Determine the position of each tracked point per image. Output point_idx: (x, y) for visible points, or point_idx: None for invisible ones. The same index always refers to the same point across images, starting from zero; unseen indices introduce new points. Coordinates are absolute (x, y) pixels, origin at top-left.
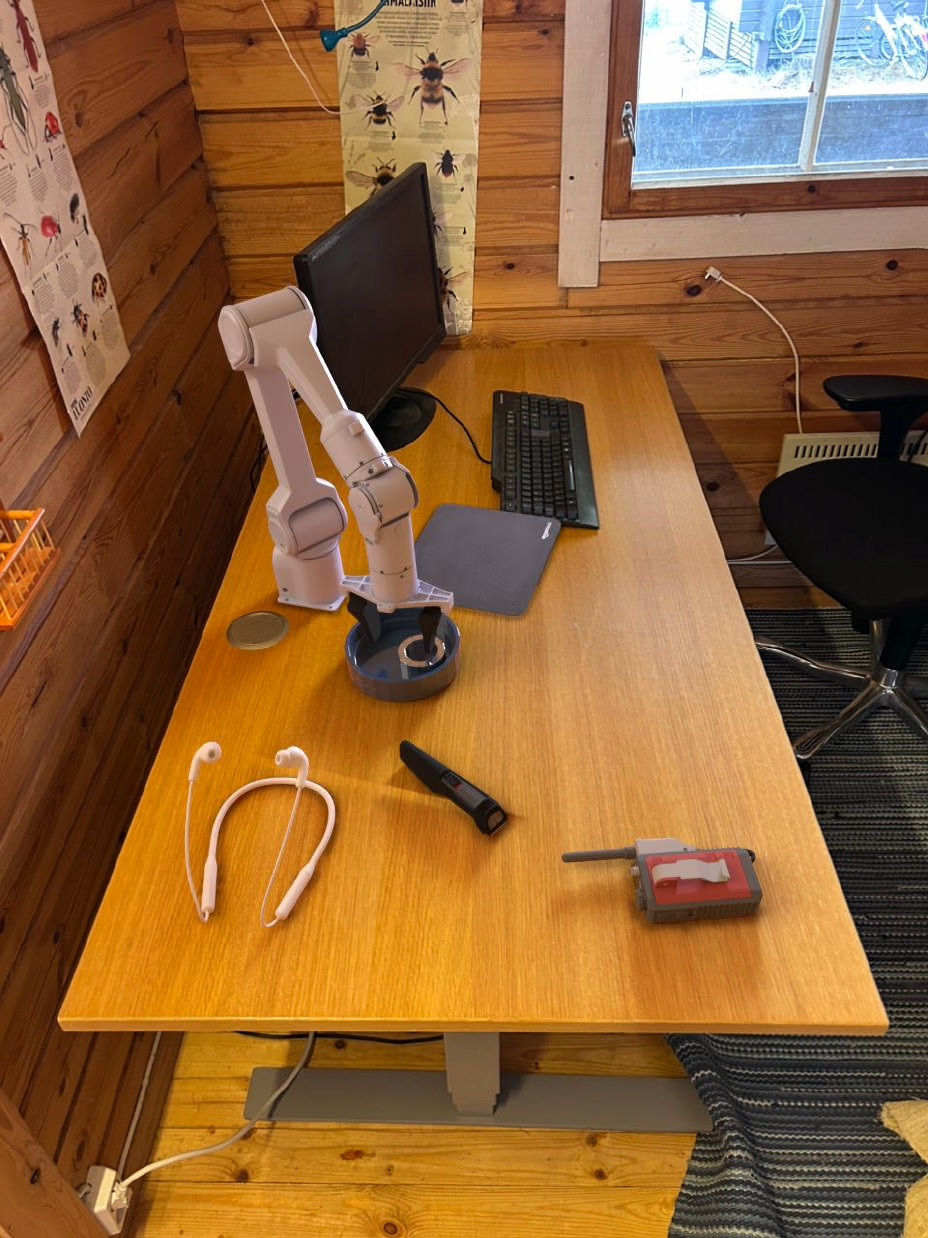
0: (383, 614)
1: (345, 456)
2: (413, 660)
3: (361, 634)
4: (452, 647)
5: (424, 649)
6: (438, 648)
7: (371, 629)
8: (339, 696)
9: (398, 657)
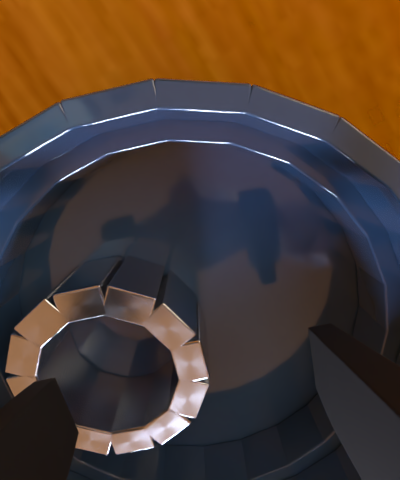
0: None
1: None
2: None
3: (397, 349)
4: None
5: (40, 390)
6: None
7: (363, 395)
8: (323, 56)
9: (186, 310)
